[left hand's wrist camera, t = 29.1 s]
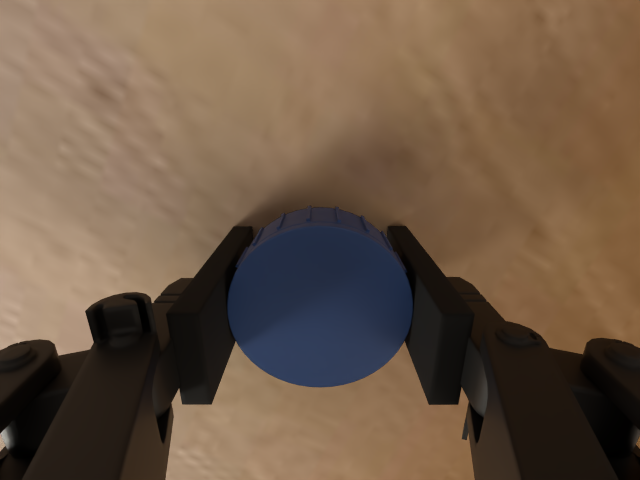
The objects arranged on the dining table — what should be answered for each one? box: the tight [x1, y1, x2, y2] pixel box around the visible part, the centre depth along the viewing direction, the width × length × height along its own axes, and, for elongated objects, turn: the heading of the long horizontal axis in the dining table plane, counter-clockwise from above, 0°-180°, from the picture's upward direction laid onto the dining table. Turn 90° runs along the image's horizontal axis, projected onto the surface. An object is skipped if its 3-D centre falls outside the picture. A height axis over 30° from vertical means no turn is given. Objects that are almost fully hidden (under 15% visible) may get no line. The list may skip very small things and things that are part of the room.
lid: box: [227, 206, 413, 387], centre depth 11 cm, size 6×6×2 cm
